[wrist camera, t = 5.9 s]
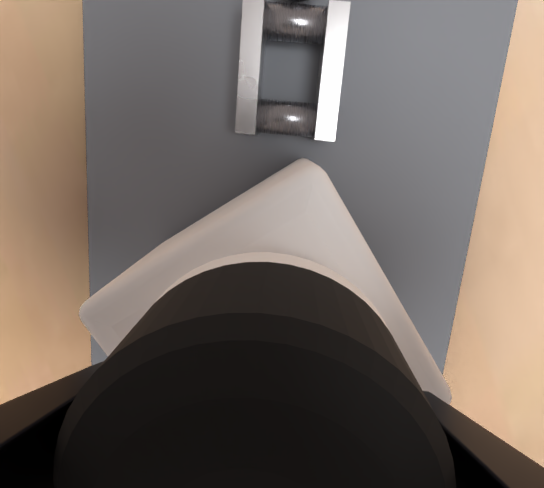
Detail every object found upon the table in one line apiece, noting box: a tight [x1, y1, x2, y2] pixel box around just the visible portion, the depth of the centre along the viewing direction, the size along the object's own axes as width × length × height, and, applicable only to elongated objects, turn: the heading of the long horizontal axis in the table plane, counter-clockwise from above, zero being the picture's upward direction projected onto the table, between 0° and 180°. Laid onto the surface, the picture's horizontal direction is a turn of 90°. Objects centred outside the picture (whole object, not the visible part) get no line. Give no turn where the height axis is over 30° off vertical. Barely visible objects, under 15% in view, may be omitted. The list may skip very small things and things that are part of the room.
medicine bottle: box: [53, 158, 456, 488], centre depth 11 cm, size 7×7×12 cm
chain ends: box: [235, 0, 351, 142], centre depth 16 cm, size 29×4×2 cm, turn 175°
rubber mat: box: [83, 0, 518, 375], centre depth 18 cm, size 30×16×1 cm, turn 175°
